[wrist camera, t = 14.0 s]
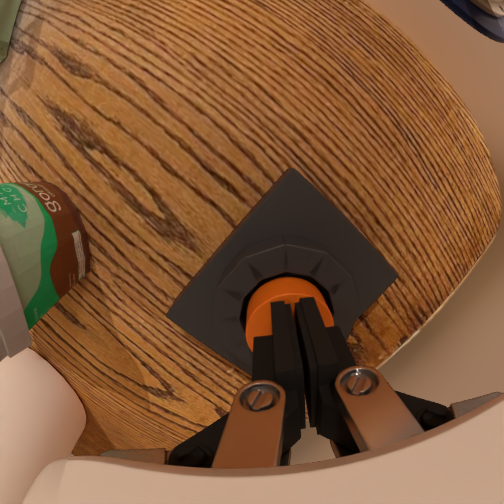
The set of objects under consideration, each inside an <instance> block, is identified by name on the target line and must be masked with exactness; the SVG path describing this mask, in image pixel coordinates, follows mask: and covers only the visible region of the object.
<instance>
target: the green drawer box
mask: <svg viewBox="0 0 504 504" xmlns="http://www.w3.org/2000/svg"><path fill="white" fill-rule="evenodd" d="M21 1H22V0H21ZM17 13H18V12H17ZM16 16H17V15H16ZM15 19H16V18H15ZM14 23H15V22H14ZM13 26H14V25H13ZM12 30H13V29H12ZM11 34H12V33H11ZM10 38H11V37H10ZM9 42H10V41H9ZM8 47H9V44H8V45H6V46H5V47H4V48H3V49H2V50H1V49H0V62H1V61H2V60H3V59H5V58H6V56H7V51H8Z"/></svg>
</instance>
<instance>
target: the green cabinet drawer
mask: <svg viewBox="0 0 504 504" xmlns="http://www.w3.org/2000/svg"><path fill="white" fill-rule="evenodd" d="M20 3H21V0H0V49H1V50H2V49H3V48H4V47H5V46H6V45H8V44H9V41H10V37H11V33H12V29H13V25H14V22H15V18H16V15H17V12H18V9H19V6H20Z"/></svg>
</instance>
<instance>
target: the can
mask: <svg viewBox="0 0 504 504" xmlns="http://www.w3.org/2000/svg"><path fill="white" fill-rule="evenodd" d="M85 424H86V413H85V410H84V407H83V404H82V403H81V401H80V400H79V398H78V396H77V395H76V393H75V391H74V390H73V389H72V388H71V387H70V385H69V384H68V383H67V382H66V380H65V379H64V378H63V377H62V376H61V375H60V374H59V373H58V372H57V371H56V370H55V369H54V368H53V367H52V366H51V365H50V364H49V363H48V362H47V361H46V360H44V359H43V358H42V357H41V356H40V355H38V354H37V353H36V352H35V351H33V350H31V349H29V348H28V347H27V348H26V349H24V350H23V351H21V352H20V353H18V354H16V355H15V356H13V357H12V358H10V357H9V356H6V357H5V358H4V359H3V360H2V361H1V362H0V504H22V503H23V501H24V499H25V497H26V495H27V493H28V491H29V489H30V488H31V486H32V484H33V483H34V481H35V480H36V478H37V477H38V475H39V474H40V473H41V471H42V470H43V469H44V468H45V467H46V466H47V465H48V464H50V463H51V462H53V461H55V460H57V459H61V458H66V457H69V456H70V454H71V452H72V450H73V448H74V446H75V445H76V443H77V441H78V439H79V437H80V435H81V434H82V432H83V430H84V428H85Z"/></svg>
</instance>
